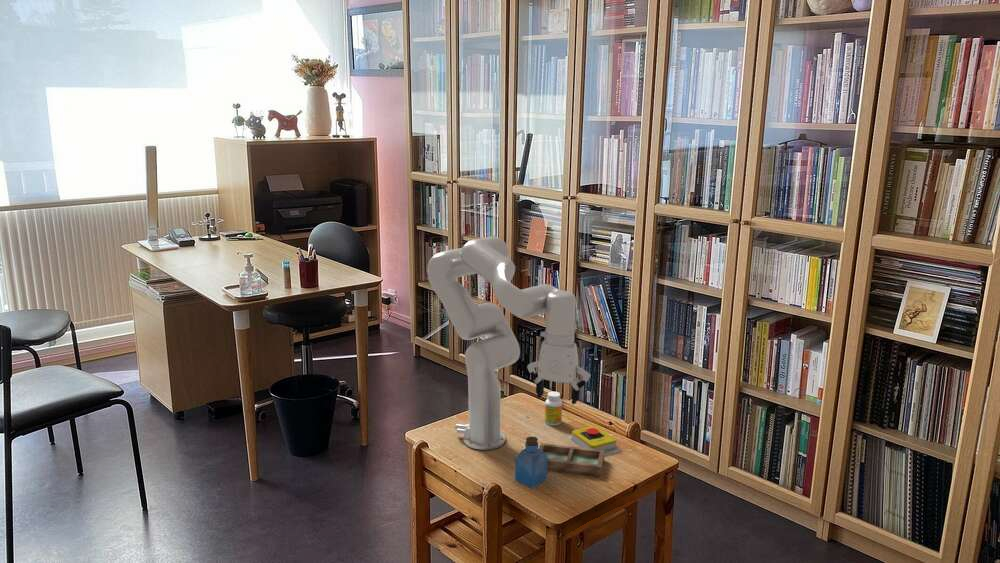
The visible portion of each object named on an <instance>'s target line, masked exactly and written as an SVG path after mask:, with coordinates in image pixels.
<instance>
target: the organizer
mask: <svg viewBox="0 0 1000 563" xmlns="http://www.w3.org/2000/svg"><path fill="white" fill-rule="evenodd" d="M538 449H540V450H542V451H543V452H544V454H545V455H546V457H547V458H548V461H547V472H549V471H550V472H557V473H564V474H573V475H581V476H588V477H596V478H601V477H602V473H603V472H602V471H603V468H604V463H605V456H604V454H605V450H597V449H589V448H582V447H580V446H579V447H578V446H570V445H563V444H562V445H560V444H554V443H553V444H552V443H545V442H540V444H539V446H538Z"/></svg>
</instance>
